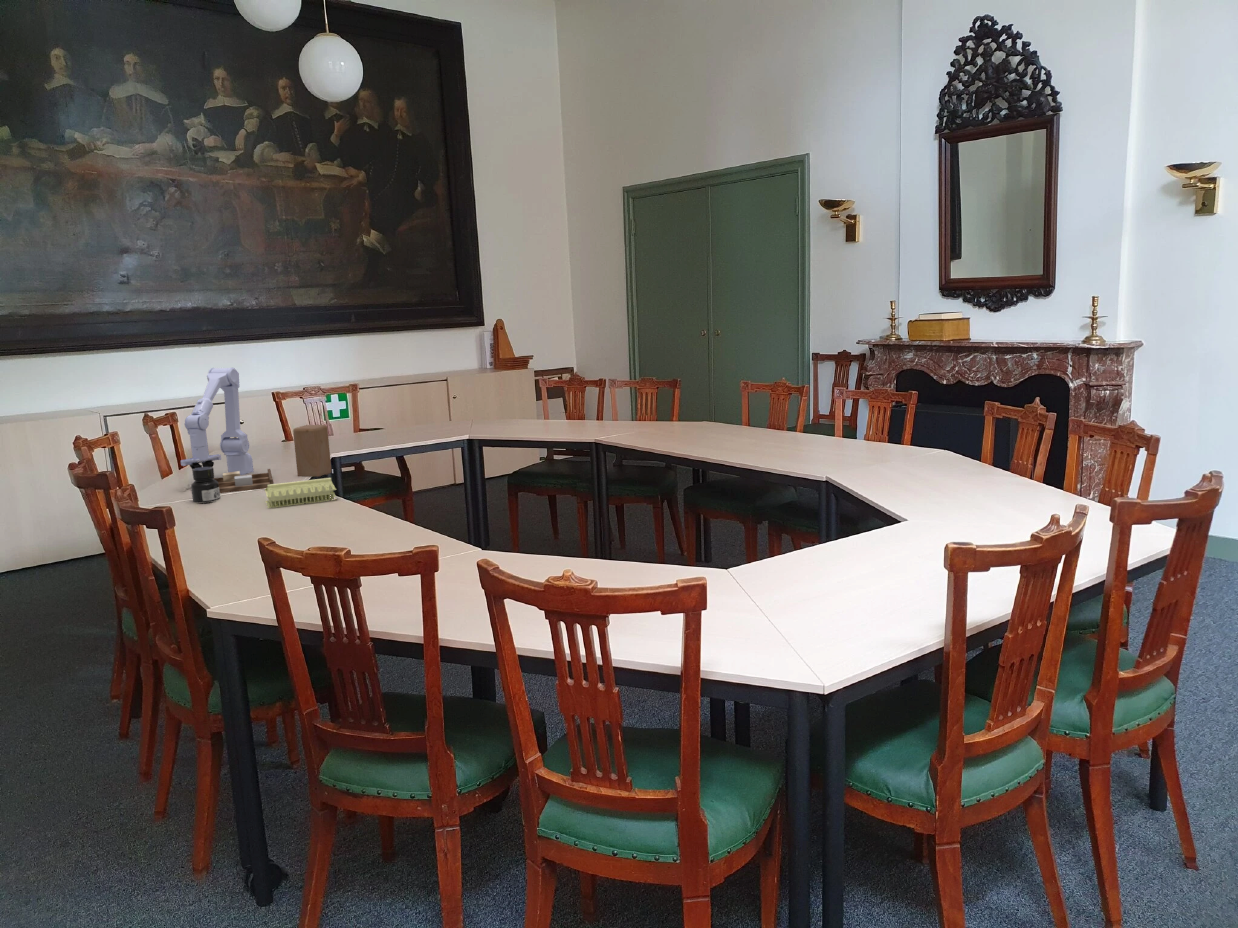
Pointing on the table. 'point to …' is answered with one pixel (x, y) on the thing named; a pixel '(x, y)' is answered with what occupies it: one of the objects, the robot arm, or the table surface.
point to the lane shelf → (258, 483)
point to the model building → (299, 492)
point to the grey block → (243, 480)
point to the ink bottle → (204, 485)
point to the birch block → (230, 476)
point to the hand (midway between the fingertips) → (203, 481)
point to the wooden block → (312, 450)
